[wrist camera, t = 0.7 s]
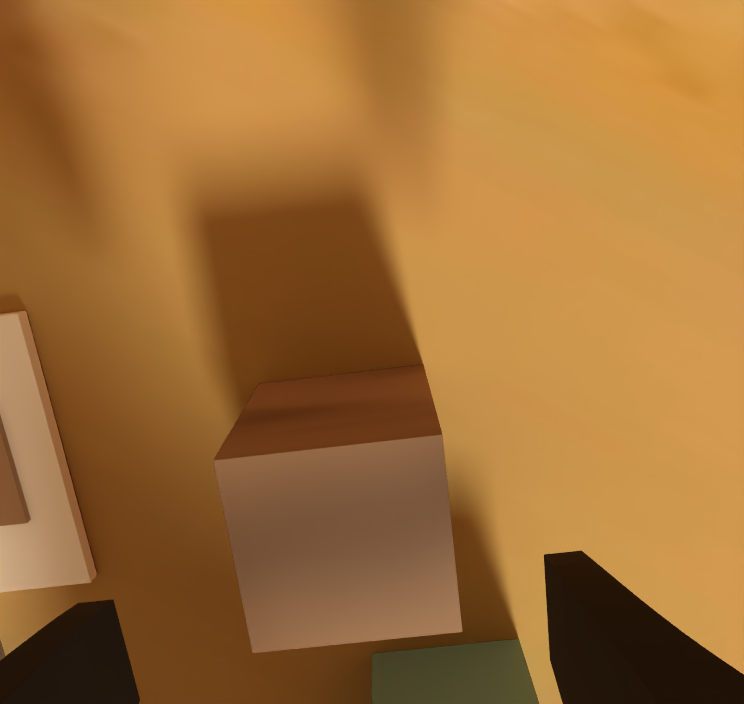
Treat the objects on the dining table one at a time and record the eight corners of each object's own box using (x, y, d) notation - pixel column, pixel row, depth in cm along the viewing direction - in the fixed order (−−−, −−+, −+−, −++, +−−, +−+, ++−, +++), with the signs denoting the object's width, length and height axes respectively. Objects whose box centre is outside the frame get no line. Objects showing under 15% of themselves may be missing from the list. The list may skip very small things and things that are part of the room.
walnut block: (438, 512, 18) (462, 632, 13) (285, 529, 18) (252, 653, 13) (423, 363, 17) (442, 434, 12) (259, 383, 17) (213, 460, 12)
